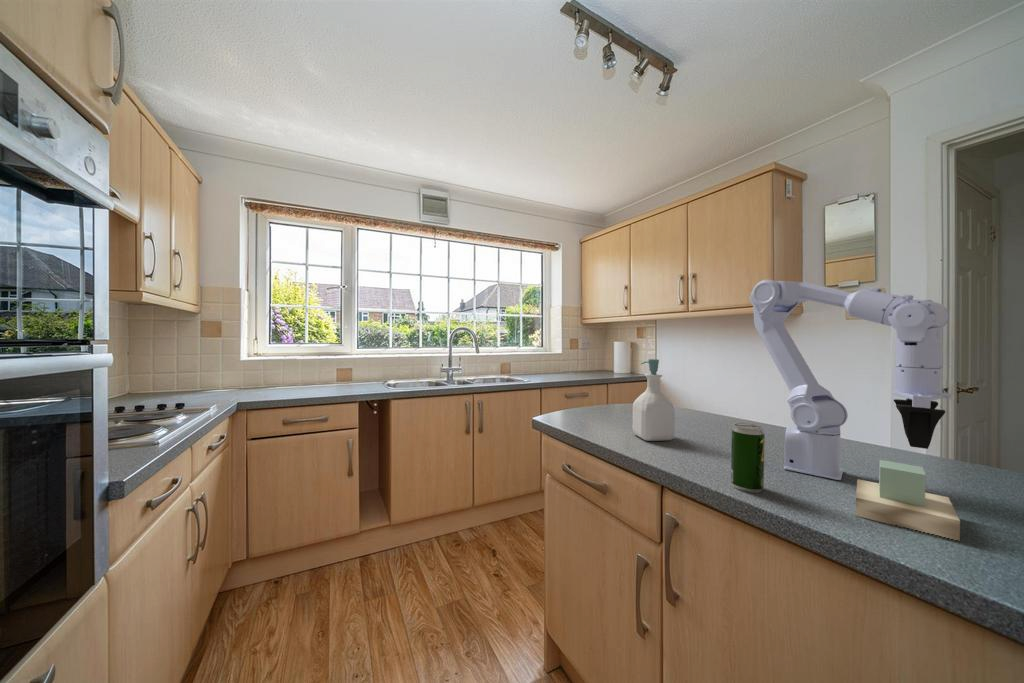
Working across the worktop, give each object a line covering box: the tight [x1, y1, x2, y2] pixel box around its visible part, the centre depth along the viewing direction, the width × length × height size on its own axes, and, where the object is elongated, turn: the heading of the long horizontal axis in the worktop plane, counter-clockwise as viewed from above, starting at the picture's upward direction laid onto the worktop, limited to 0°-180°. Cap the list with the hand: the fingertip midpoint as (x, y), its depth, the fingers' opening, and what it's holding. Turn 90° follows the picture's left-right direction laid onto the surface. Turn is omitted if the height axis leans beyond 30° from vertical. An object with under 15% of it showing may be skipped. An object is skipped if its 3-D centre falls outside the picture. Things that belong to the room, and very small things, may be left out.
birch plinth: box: [855, 478, 961, 542], centre depth 61 cm, size 11×11×3 cm
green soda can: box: [730, 422, 766, 494], centre depth 72 cm, size 5×5×12 cm
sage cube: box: [878, 459, 927, 507], centre depth 61 cm, size 5×5×5 cm
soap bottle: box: [632, 358, 676, 442], centre depth 107 cm, size 10×10×23 cm
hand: (916, 442), depth 67 cm, fingers open, 7 cm apart
